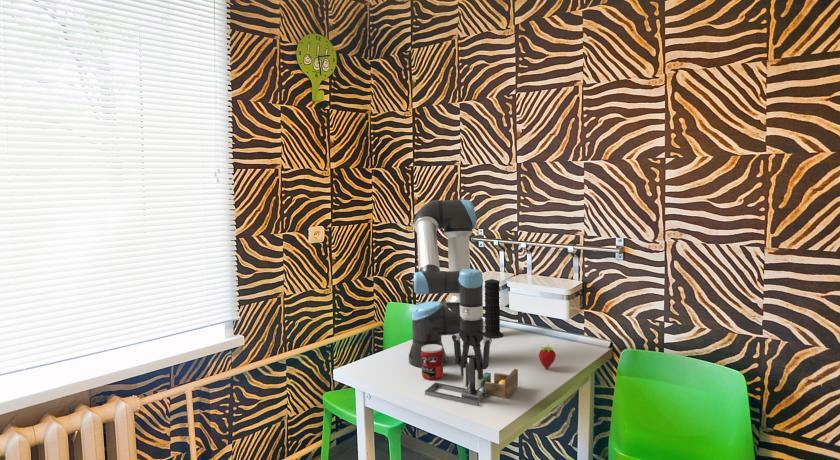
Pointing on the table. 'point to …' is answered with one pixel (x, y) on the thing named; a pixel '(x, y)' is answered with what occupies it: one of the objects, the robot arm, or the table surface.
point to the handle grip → (492, 309)
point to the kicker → (470, 389)
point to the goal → (500, 389)
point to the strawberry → (547, 356)
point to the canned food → (432, 361)
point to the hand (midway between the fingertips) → (472, 386)
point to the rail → (431, 392)
